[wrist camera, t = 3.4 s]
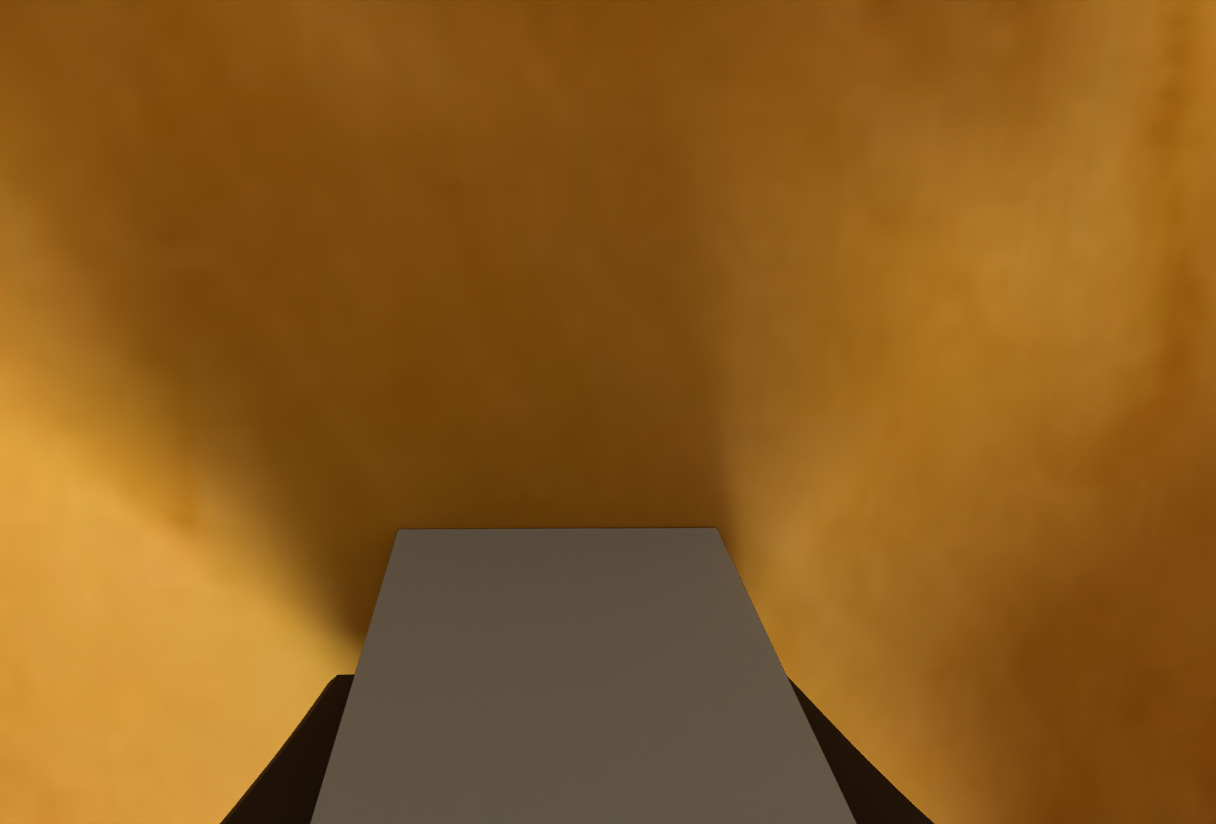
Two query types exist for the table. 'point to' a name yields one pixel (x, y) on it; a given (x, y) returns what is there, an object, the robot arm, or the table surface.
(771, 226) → the table surface
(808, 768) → the slate blue block
